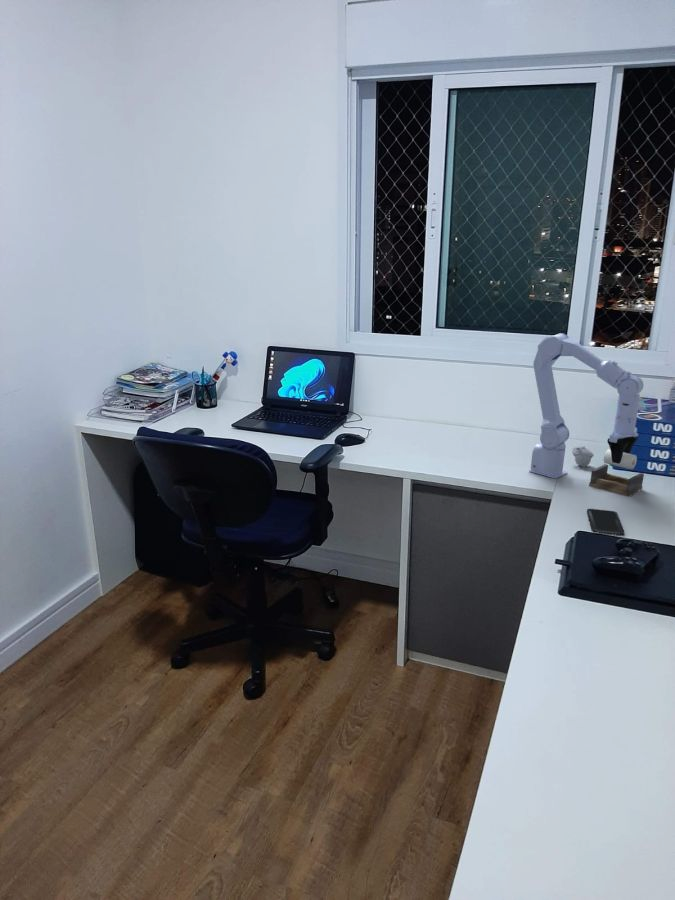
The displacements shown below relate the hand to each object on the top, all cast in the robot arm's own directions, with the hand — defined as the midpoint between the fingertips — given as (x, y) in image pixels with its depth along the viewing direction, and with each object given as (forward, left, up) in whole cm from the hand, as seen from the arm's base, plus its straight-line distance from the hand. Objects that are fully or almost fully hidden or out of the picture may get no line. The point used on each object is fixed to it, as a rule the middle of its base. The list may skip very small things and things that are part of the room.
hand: (619, 461), depth 200 cm
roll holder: (0, 0, -8) cm, 8 cm away
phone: (+10, -29, -9) cm, 32 cm away
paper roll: (0, 0, +1) cm, 1 cm away
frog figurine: (-17, +12, -9) cm, 23 cm away
